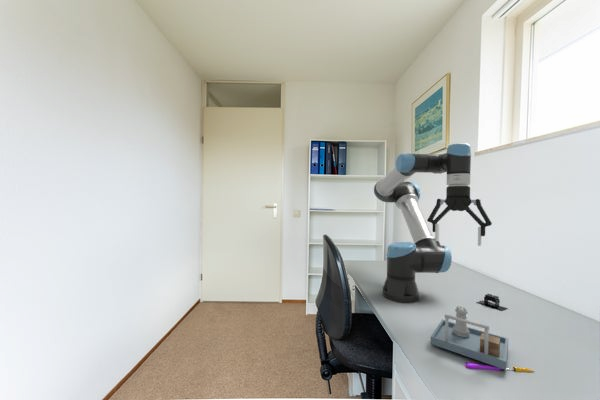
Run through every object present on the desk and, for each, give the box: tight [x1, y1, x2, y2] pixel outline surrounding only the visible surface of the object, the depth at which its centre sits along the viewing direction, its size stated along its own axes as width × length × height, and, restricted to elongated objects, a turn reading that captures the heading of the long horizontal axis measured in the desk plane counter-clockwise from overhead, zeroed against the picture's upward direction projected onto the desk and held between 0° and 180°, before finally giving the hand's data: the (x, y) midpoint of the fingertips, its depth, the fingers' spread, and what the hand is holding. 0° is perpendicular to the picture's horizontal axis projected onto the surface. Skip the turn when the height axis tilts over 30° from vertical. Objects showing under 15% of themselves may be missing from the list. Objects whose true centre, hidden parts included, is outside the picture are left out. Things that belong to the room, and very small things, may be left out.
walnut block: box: [480, 333, 500, 358], centre depth 68 cm, size 4×4×4 cm
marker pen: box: [464, 361, 535, 373], centre depth 65 cm, size 3×1×16 cm
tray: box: [430, 313, 509, 371], centre depth 73 cm, size 14×17×10 cm
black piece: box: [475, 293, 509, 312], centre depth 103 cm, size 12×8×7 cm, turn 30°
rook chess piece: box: [453, 306, 470, 338], centre depth 77 cm, size 4×4×8 cm
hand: (457, 243), depth 95 cm, fingers open, 13 cm apart
